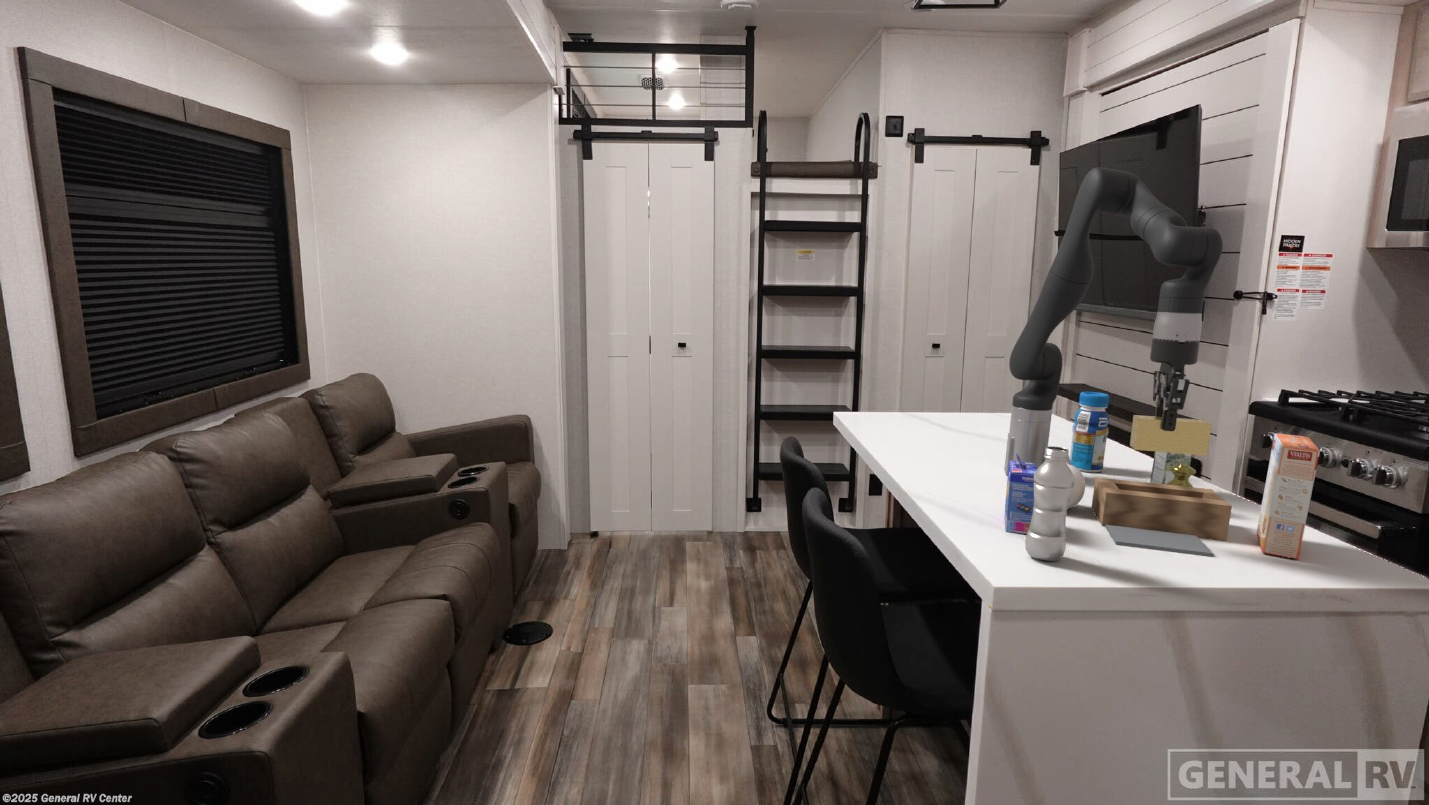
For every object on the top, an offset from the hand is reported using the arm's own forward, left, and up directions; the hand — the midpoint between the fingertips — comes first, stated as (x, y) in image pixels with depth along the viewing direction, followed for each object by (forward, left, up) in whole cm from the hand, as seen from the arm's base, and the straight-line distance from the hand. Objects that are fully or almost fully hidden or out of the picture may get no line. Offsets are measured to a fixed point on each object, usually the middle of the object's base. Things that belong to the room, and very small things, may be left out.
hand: (1164, 427), depth 143 cm
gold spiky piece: (+11, +25, -22) cm, 35 cm away
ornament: (-15, +14, -22) cm, 30 cm away
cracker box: (+23, +5, -22) cm, 33 cm away
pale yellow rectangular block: (+1, 0, -4) cm, 4 cm away
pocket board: (+4, +11, -22) cm, 25 cm away
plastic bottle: (-21, -19, -22) cm, 36 cm away
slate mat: (+1, -1, -22) cm, 22 cm away
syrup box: (+13, +41, -22) cm, 48 cm away
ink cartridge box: (-24, -2, -22) cm, 33 cm away
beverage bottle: (-3, +54, -22) cm, 58 cm away
